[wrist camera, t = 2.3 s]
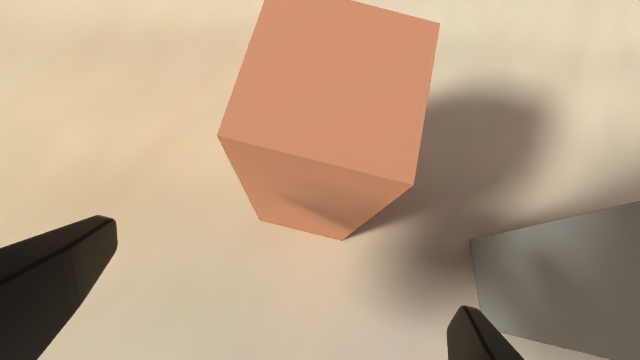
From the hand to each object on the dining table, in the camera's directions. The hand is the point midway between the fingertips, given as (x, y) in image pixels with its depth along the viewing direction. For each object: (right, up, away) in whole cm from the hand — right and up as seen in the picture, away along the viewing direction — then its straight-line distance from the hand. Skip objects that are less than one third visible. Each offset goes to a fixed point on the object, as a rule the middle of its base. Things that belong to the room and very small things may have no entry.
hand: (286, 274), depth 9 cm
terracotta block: (0, +2, +12) cm, 12 cm away
